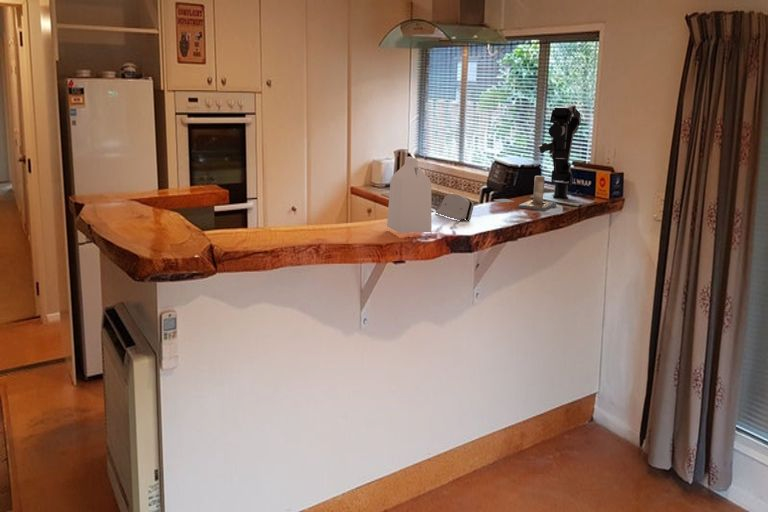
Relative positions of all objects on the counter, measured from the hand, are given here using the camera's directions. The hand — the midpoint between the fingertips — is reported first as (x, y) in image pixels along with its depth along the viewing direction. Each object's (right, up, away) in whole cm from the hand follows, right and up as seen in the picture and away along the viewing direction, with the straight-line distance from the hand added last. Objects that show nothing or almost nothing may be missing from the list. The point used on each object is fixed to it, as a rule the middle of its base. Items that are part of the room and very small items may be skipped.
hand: (556, 172), depth 299 cm
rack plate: (-11, -16, -10) cm, 21 cm away
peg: (-11, -16, -10) cm, 21 cm away
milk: (-67, -29, -64) cm, 97 cm away
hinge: (-48, -22, -35) cm, 63 cm away
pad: (-23, -12, +2) cm, 26 cm away
